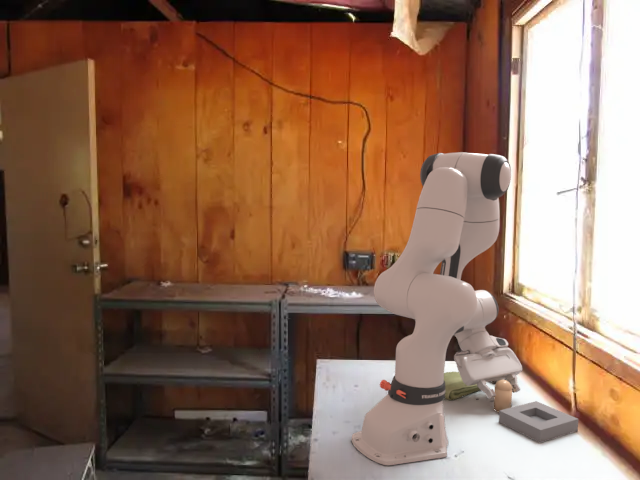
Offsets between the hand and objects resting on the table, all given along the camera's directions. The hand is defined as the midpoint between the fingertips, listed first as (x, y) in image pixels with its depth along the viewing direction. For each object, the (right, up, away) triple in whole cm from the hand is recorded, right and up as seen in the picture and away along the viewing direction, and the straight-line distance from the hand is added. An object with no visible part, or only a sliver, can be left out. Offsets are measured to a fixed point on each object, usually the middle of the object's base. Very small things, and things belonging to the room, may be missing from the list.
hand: (504, 394), depth 132 cm
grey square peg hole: (+5, -5, -9) cm, 11 cm away
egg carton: (+7, -3, +24) cm, 25 cm away
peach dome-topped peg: (0, -4, +1) cm, 4 cm away
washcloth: (-10, -4, +16) cm, 19 cm away
